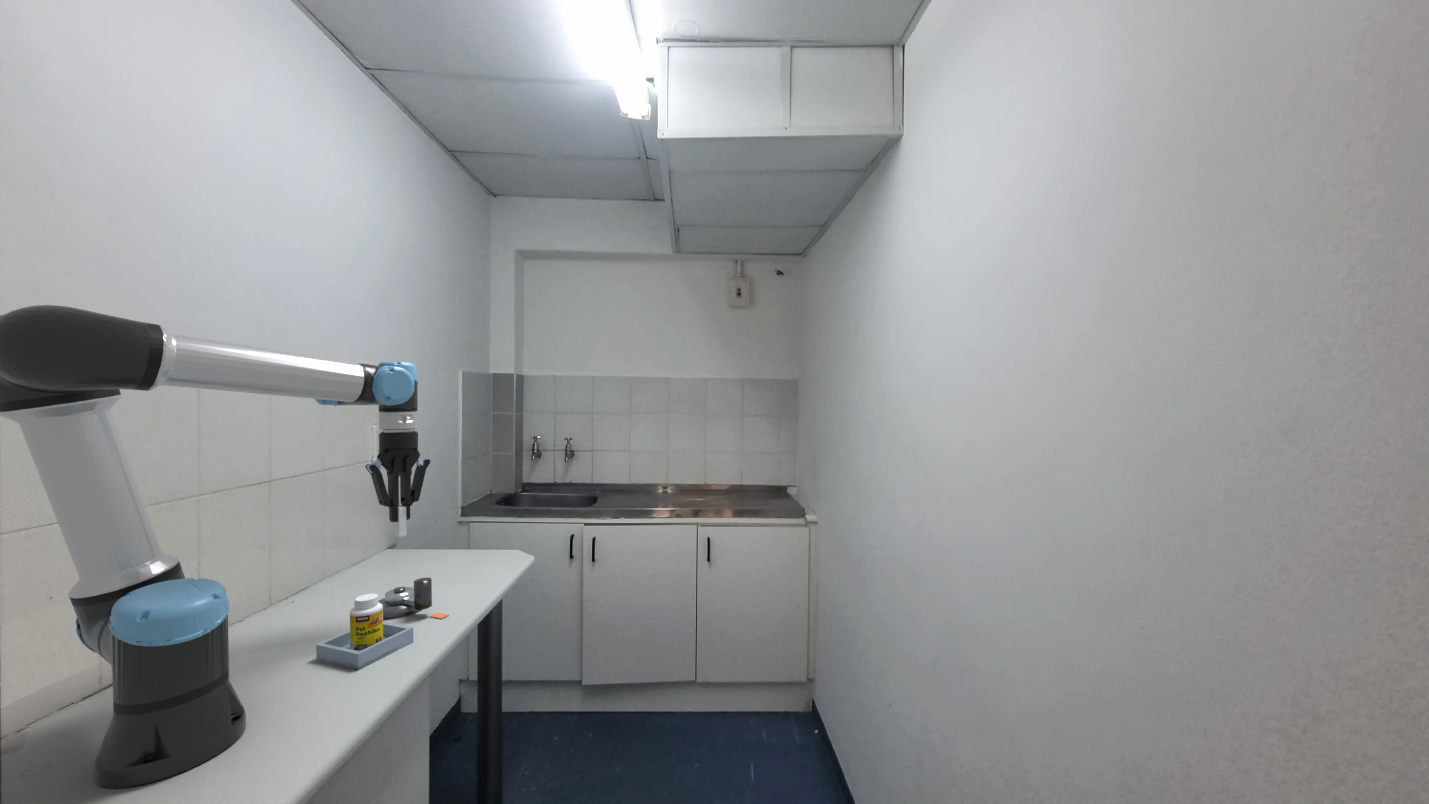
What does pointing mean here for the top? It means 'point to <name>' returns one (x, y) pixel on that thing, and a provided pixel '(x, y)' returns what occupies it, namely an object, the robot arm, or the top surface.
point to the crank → (412, 595)
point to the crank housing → (396, 610)
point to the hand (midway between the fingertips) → (400, 535)
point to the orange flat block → (439, 615)
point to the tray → (342, 655)
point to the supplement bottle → (366, 622)
